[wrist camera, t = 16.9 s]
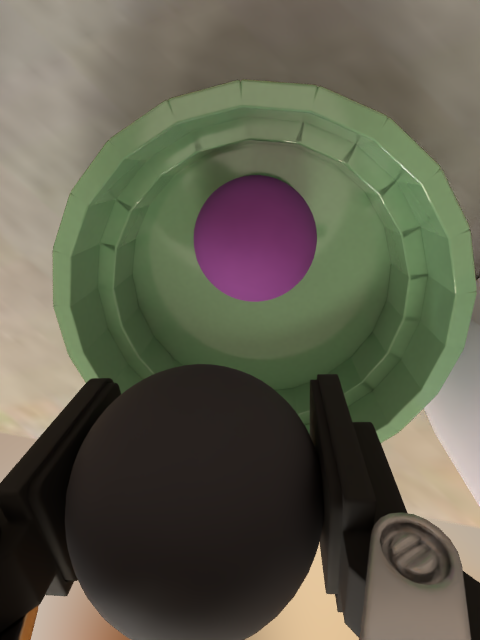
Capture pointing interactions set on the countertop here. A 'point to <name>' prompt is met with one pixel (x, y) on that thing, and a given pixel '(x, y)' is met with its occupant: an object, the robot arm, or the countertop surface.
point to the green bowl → (316, 286)
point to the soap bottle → (462, 408)
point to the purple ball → (255, 238)
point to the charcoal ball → (194, 506)
